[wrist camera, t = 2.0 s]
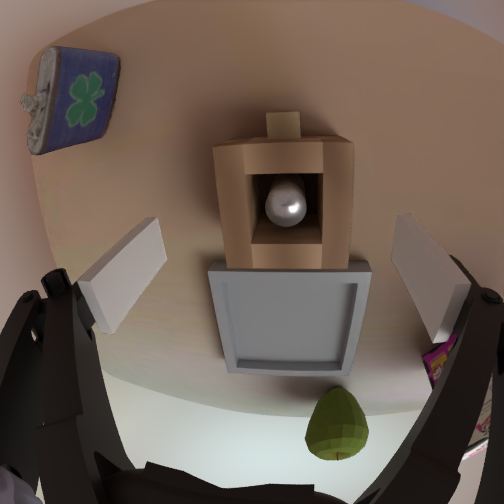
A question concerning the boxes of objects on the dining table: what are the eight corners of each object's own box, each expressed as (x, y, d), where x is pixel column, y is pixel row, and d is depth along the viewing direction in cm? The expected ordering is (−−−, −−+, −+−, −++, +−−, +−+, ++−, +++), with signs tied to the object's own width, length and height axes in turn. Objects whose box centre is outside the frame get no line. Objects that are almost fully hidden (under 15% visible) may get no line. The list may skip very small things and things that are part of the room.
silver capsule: (303, 171, 23) (306, 187, 18) (304, 202, 24) (306, 226, 19) (271, 171, 23) (264, 188, 18) (272, 202, 24) (266, 226, 20)
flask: (105, 53, 19) (25, 46, 10) (128, 54, 19) (47, 42, 10) (88, 137, 24) (10, 161, 14) (108, 141, 24) (29, 168, 14)
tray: (367, 261, 26) (372, 272, 24) (347, 363, 33) (349, 375, 31) (213, 260, 28) (207, 271, 27) (231, 360, 35) (228, 372, 34)
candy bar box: (433, 369, 32) (459, 463, 17) (420, 357, 31) (447, 461, 17) (492, 323, 27) (536, 412, 12) (483, 306, 26) (535, 404, 12)
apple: (303, 379, 35) (298, 453, 25) (363, 370, 33) (372, 444, 23) (311, 408, 39) (308, 471, 29) (363, 401, 37) (368, 465, 27)
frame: (338, 112, 20) (353, 112, 15) (337, 234, 25) (347, 268, 20) (230, 116, 21) (209, 117, 16) (241, 235, 26) (227, 267, 21)
